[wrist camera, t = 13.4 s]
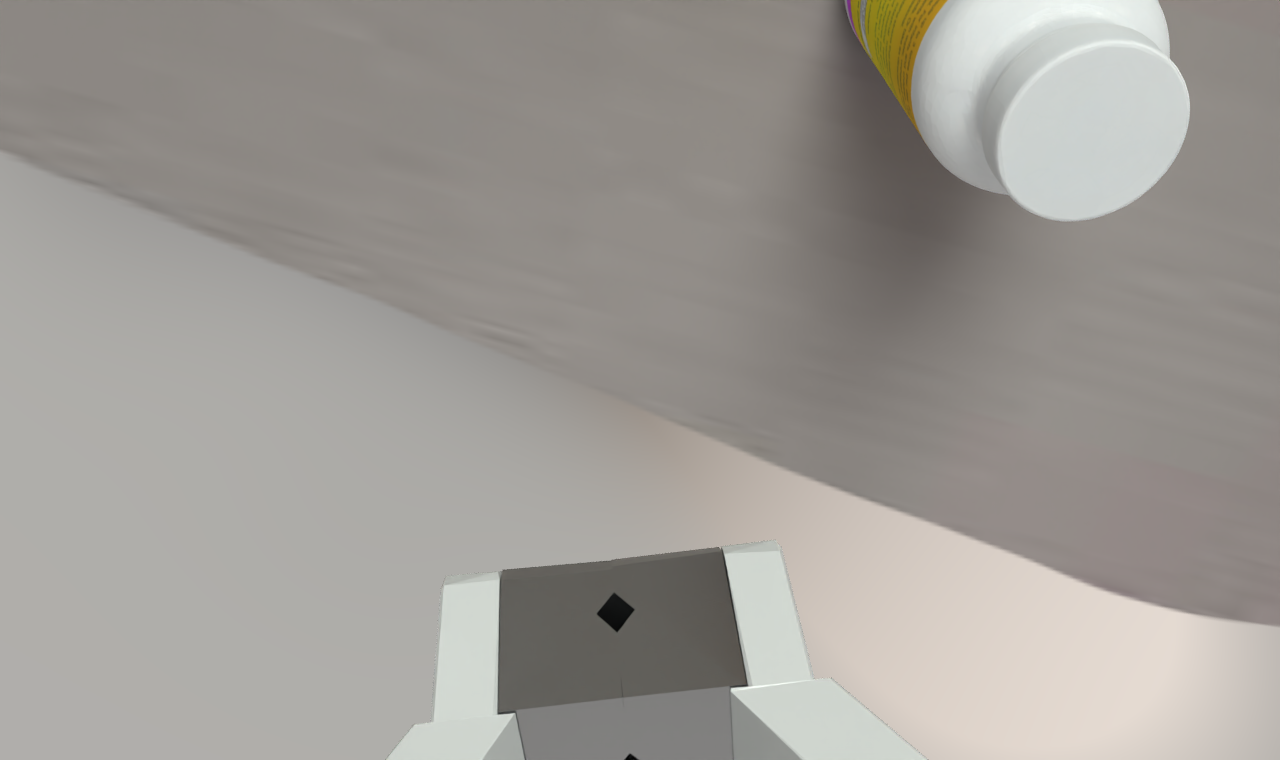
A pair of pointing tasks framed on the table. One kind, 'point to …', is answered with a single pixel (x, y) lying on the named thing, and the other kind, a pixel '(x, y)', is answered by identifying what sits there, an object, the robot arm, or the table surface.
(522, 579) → the robot arm
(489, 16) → the table surface
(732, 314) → the table surface
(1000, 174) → the supplement bottle
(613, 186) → the table surface
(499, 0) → the table surface
